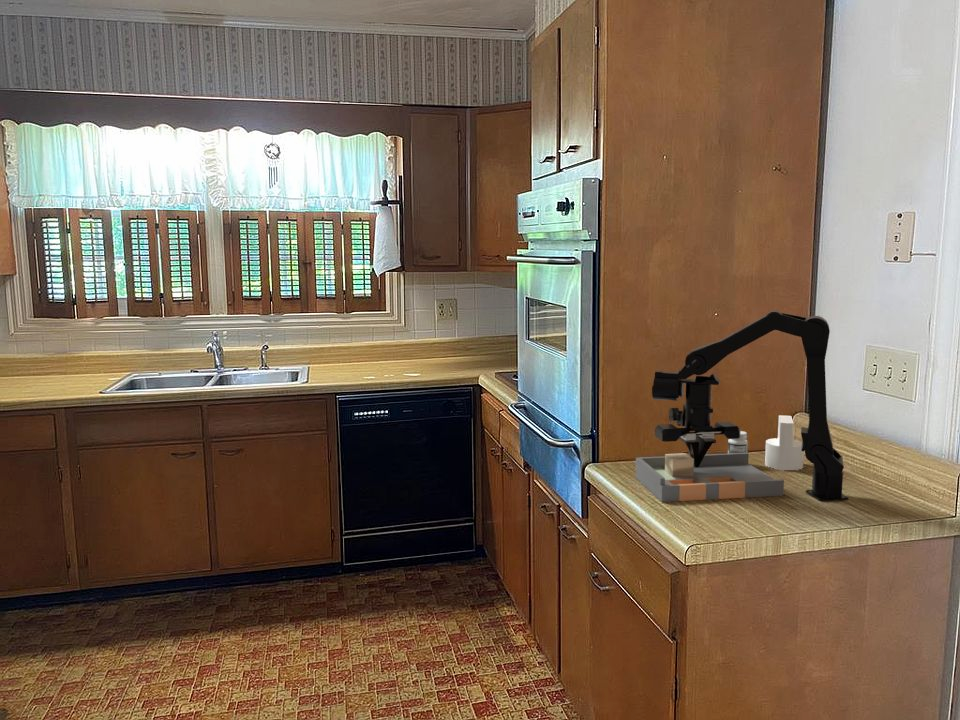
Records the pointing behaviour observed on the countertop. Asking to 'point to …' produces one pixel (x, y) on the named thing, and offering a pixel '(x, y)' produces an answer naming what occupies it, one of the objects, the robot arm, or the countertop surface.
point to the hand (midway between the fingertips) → (696, 467)
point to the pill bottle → (738, 444)
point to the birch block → (679, 464)
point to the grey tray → (708, 479)
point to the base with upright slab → (784, 448)
